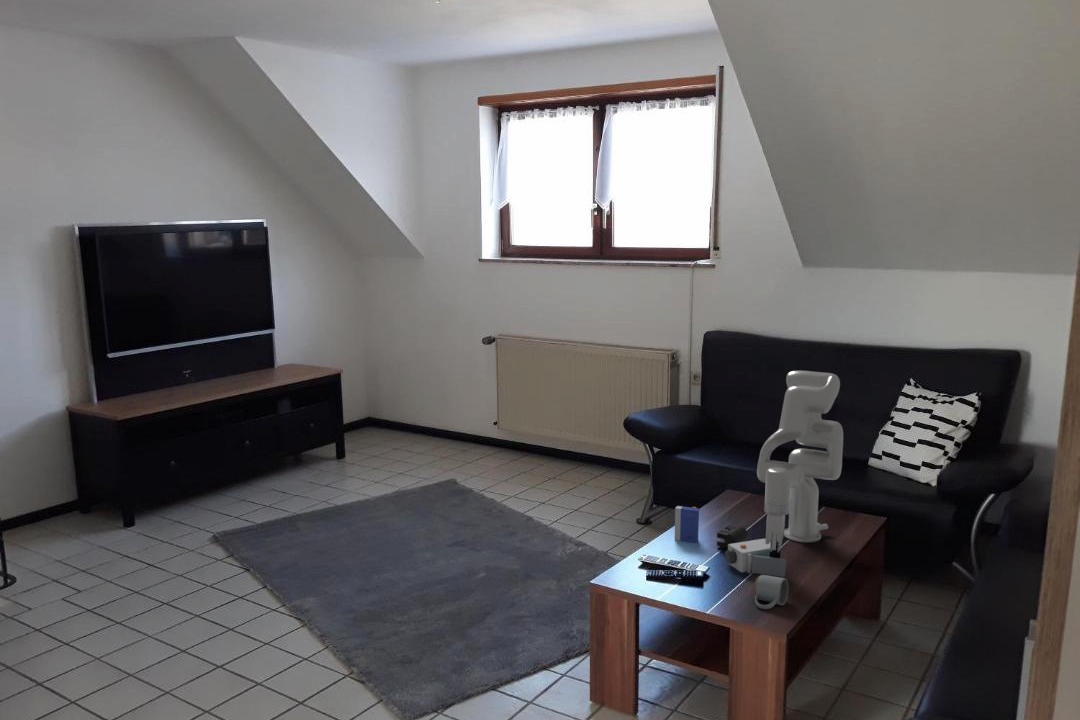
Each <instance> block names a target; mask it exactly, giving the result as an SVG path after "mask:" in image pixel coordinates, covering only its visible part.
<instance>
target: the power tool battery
mask: <svg viewBox="0 0 1080 720" xmlns="http://www.w3.org/2000/svg"><path fill="white" fill-rule="evenodd" d="M724 529H725V530H722V529H721V530H719V531H717V533H716V538H717V539H720V540H724V542H723V541H720V540H717V541H716V546H717V551H721V552H724V553H725V552H726V551H727V550H728V544H733V543H739V542H746V541H747V540H748V539H749V538H748V537H749V534H748V531H747V529H746V528H745V527H744V526H743V525H739V526H737V527H736V526H732V525H726V526H725V527H724Z"/></svg>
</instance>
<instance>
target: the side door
mask: <svg viewBox="0 0 1080 720" xmlns="http://www.w3.org/2000/svg"><path fill="white" fill-rule="evenodd" d="M786 559H787V558H781V557H780V558H772V557H764V556H755V555H753V561H752V554H748V567H747V572H746V573H747V574H757V575H758V574H759V575H768V576H773V577H780V578H785V577H786V562H787V560H786ZM751 564H752V571H751Z"/></svg>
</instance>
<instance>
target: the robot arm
mask: <svg viewBox="0 0 1080 720" xmlns="http://www.w3.org/2000/svg"><path fill="white" fill-rule="evenodd" d="M785 377H786V378H785V381H786V385H787V389H786V391H785V393H784V398H783V403H782V409H781V414H780V415H781V416H780V421H779V426H778V429H777V430H776V431H774V433H773V434H771V435H770V436H769V437H768V438H767V440H765V442H764V443H763V445H762V447H761V449H760V452H759V457H758V462H757V467H756V468H757V469H756V475H757V479H758V480H759V481H760V482H761V483H764V484H765V487H764V488H765V490H764V513H765V514H767V516H766V527H765V538H764V539H765V544H769V543H770V555H769V557H772V558H781V546H782V543H783V540H784V537H785V538H787V539H789V540H791V541H794V542H799V543H816V542H819V541H820V540H821V539H822V534H821V530H822V531H823V530H827V529H829V525H828V524H827V523H822V524H821V523H820V522H818V513H819V512H818V511H819V493H820V492H819V490H820V489H819V487H818V484H817V482H816V480H815V479H819V480H820V479H821V480H827V481H829V480H830V481H835V480H838V479H839V478H840V476H841V473H842V469H843V452H844V451H843V450H844V449H843V448H844V430H843V426H842V424H841V423H840V422H839V421H835V420H826V419H823V418H822V414H823V415H824V414H825V415H826V414H827V413H829V411H830V410H831V409H832V407H833V404H834V402H835V400H836V398H837V397H838V394H839V392H840V387H841V380H840V377H838V375H837V374H834V373H832V372H822V371H820V372H819V371H810V370H792V371H789V372H788V373H787V374H786V376H785ZM791 441H796V443H797V444H799V445H802V446H806V447H814V448H815V447H816V448H822V449H826V450H827V451H825V450H818V449H810V448H795V449H793V450H792V451H791V452H790V454H789V455H788V462H786V461H779V460H773V459H772V460H771V458H770V457H771V455H772V453H773V451H774V450H776V448H777V447H779V446H781V445H784V444H786V443H788V442H791ZM786 515H788V528H785V525H786Z"/></svg>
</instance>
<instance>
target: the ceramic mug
mask: <svg viewBox="0 0 1080 720" xmlns="http://www.w3.org/2000/svg"><path fill="white" fill-rule="evenodd" d="M753 588H754V589H753V591H754V596H755V597H754V601H755V605H756V606H757V607H758V608H759V609H761V610H770V609H773V608H774V606H775V605H778V606H784V605H785V604H786V603H787V599H788V597H789V596H788V595H789V582H788V579H787V578H785V577H781V576H773V575H765V574H759V576H757V577H756V579H755V581H754V587H753ZM758 600H761V601H764V602H767V603H768V604H761V603H759V602H758Z"/></svg>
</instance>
